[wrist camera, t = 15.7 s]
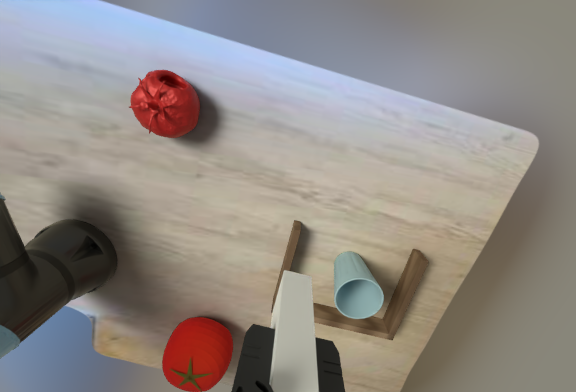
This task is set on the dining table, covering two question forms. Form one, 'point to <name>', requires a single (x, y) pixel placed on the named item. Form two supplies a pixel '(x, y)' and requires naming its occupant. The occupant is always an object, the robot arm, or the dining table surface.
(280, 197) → the dining table surface
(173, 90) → the pomegranate
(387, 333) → the corral
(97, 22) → the dining table surface
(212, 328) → the tomato
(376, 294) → the cup
